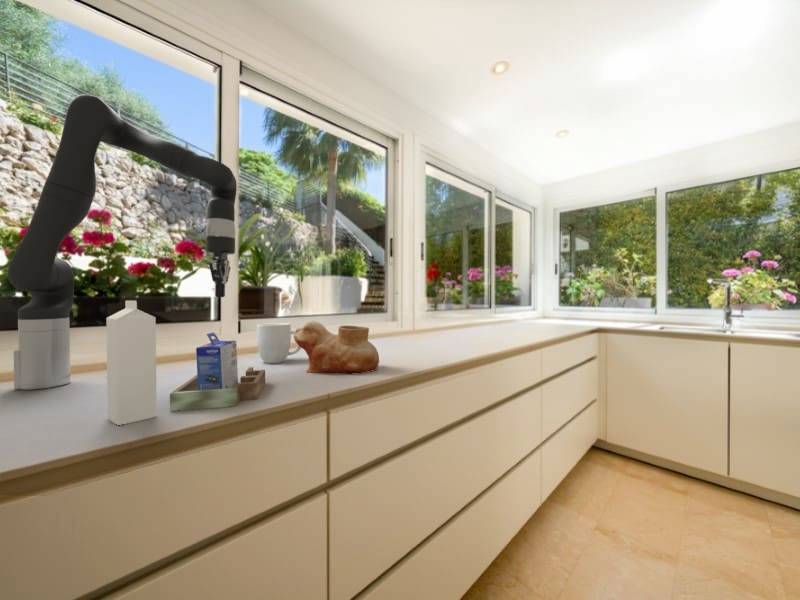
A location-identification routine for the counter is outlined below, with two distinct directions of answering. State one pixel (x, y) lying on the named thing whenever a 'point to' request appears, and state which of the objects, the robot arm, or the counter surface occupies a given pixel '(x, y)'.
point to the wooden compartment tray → (217, 393)
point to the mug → (274, 342)
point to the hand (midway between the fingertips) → (220, 297)
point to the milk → (131, 365)
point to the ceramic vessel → (337, 349)
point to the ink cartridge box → (217, 364)
